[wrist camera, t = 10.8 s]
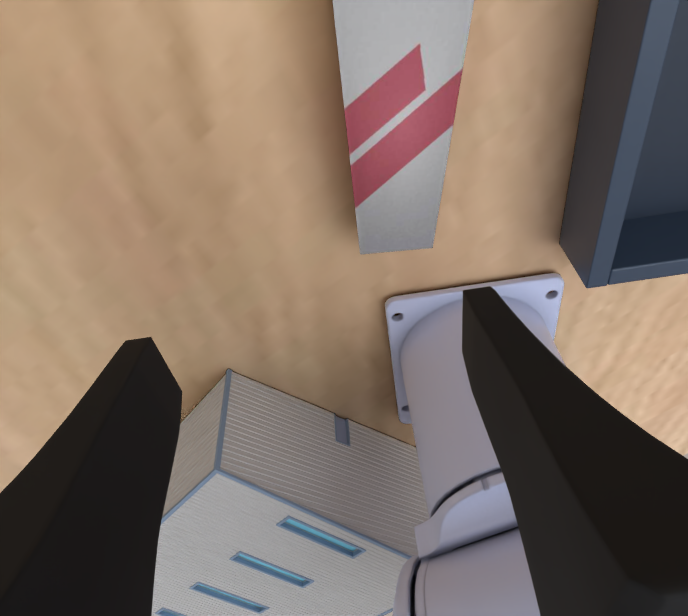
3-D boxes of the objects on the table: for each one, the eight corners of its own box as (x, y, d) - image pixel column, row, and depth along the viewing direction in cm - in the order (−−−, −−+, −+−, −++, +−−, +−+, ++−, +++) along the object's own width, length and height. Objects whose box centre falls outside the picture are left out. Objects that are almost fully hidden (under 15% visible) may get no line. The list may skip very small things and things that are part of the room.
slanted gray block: (228, 368, 27) (209, 512, 21) (431, 452, 33) (458, 579, 28) (38, 576, 42) (-2, 692, 36) (203, 606, 48) (190, 708, 43)
